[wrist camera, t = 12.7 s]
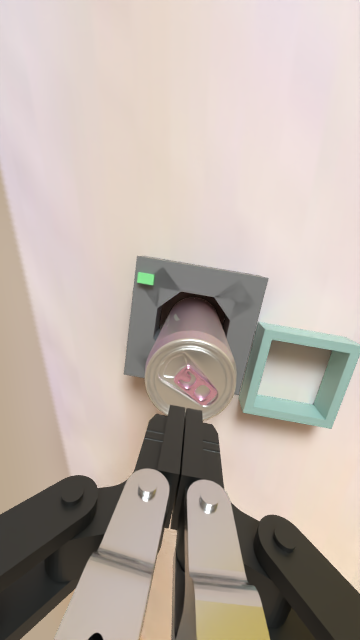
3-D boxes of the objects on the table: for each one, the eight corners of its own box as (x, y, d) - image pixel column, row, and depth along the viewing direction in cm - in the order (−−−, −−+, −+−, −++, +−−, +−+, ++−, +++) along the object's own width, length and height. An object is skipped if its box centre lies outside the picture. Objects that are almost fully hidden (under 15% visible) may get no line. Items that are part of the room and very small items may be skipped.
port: (258, 275, 27) (269, 278, 23) (233, 377, 31) (239, 397, 26) (145, 256, 28) (135, 256, 23) (132, 359, 31) (122, 376, 27)
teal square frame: (346, 337, 28) (363, 346, 25) (318, 412, 31) (331, 428, 28) (258, 322, 29) (265, 329, 26) (238, 398, 31) (242, 412, 28)
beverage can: (194, 353, 30) (192, 441, 16) (158, 322, 29) (121, 383, 15) (228, 319, 29) (260, 382, 14) (191, 285, 28) (186, 315, 14)
